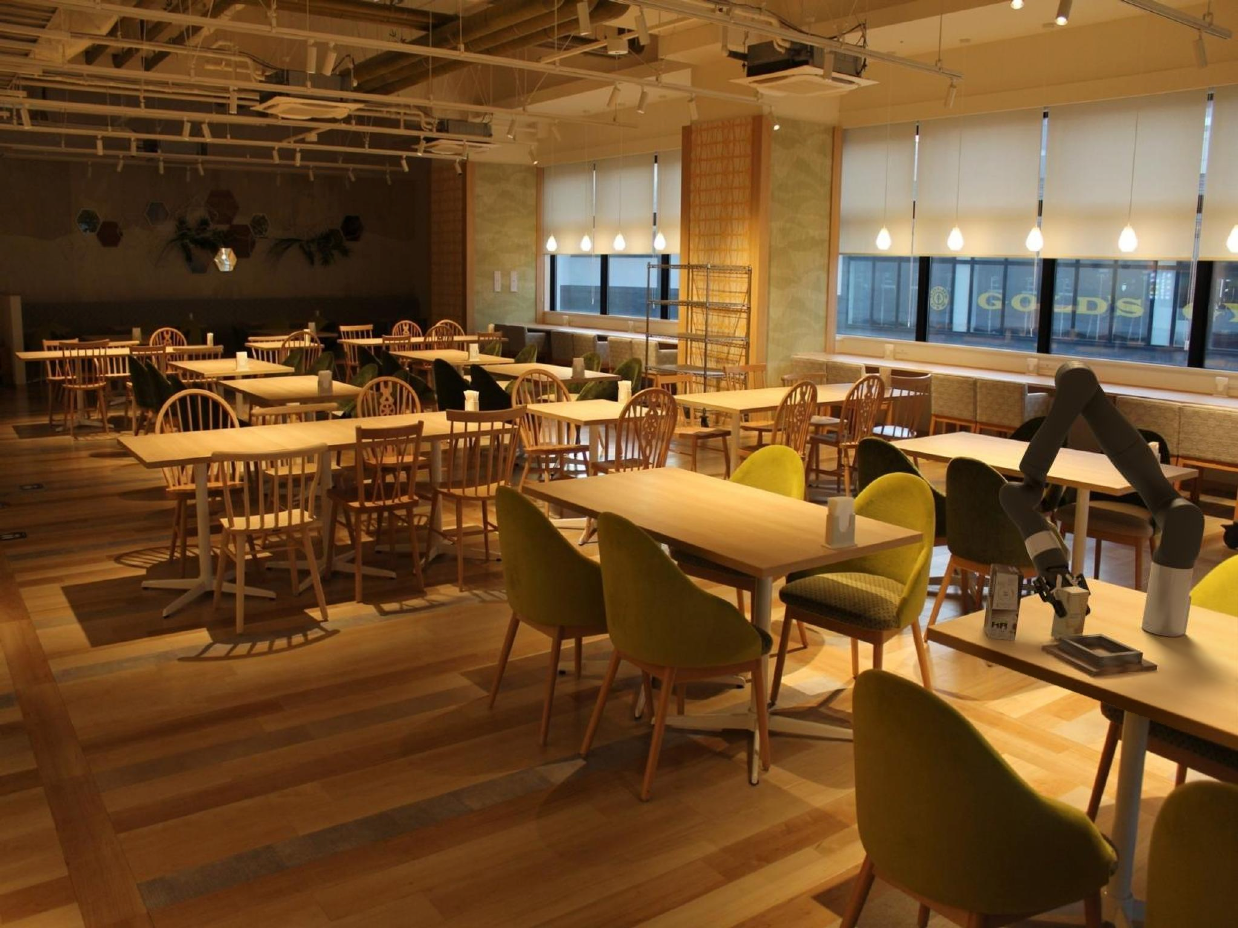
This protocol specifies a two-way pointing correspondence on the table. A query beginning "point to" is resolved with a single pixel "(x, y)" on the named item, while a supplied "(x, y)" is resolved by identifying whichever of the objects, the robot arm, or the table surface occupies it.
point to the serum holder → (1099, 655)
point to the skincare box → (1071, 612)
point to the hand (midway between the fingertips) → (1075, 615)
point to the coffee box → (1003, 601)
